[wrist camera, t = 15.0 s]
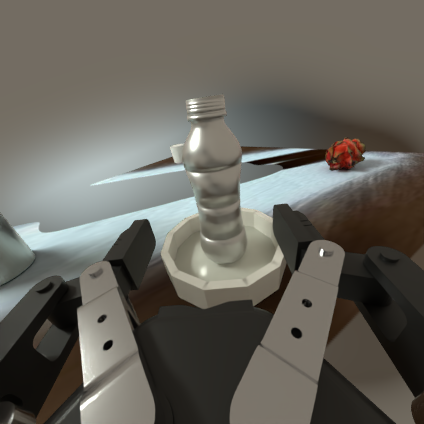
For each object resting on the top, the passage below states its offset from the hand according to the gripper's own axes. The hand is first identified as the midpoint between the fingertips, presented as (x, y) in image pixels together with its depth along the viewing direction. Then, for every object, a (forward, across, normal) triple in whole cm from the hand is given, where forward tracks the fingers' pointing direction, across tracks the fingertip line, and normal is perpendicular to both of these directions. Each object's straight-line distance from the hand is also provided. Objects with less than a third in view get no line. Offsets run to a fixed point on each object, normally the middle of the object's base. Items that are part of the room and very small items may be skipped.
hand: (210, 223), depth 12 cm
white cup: (+73, +16, +14) cm, 76 cm away
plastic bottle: (+11, 0, +13) cm, 17 cm away
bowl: (+11, 0, +14) cm, 18 cm away
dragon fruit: (+41, -35, +14) cm, 56 cm away
